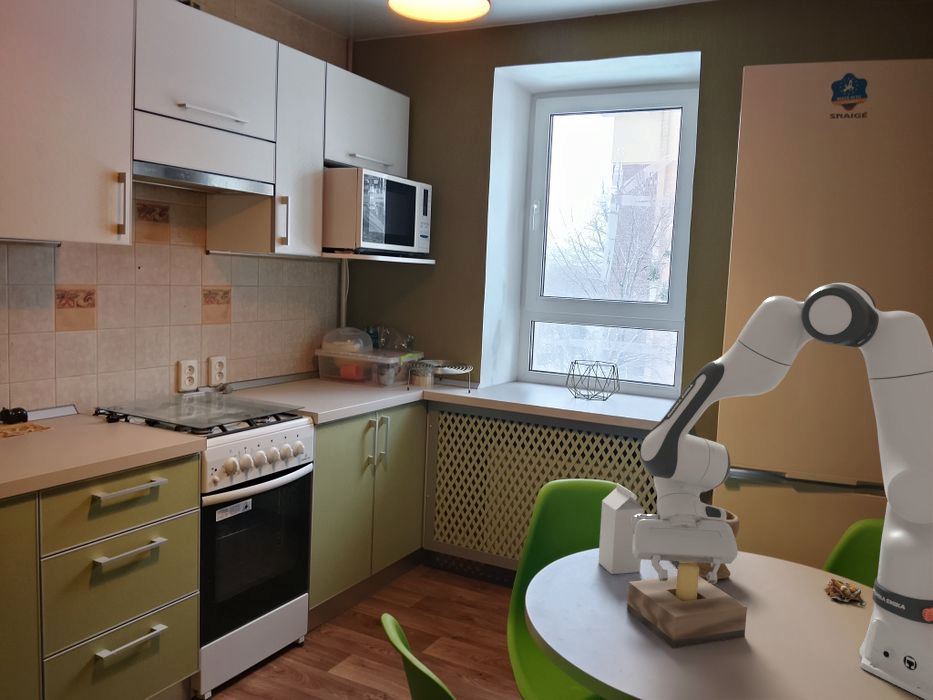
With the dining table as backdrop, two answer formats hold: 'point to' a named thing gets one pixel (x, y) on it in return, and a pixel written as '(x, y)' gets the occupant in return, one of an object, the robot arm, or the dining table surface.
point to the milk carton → (618, 532)
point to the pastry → (843, 591)
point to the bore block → (686, 612)
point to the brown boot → (723, 570)
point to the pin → (687, 581)
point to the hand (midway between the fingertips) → (688, 581)
